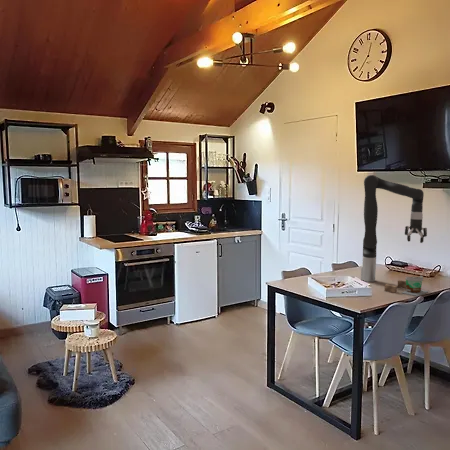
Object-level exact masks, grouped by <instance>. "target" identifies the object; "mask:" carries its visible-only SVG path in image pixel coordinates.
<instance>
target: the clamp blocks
mask: <svg viewBox="0 0 450 450" xmlns="http://www.w3.org/2000/svg"><path fill="white" fill-rule="evenodd" d="M398 287H399V288H402V289H406V280H399V279H398V280H397V285H394V284H389V283H387V284H384V292H387V293H393V294H396V293H397V292H398Z"/></svg>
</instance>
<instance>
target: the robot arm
mask: <svg viewBox="0 0 450 450" xmlns="http://www.w3.org/2000/svg"><path fill="white" fill-rule="evenodd" d="M363 186H364V203H363V221H364V222H363V223H364V235H363V236H364V237H363V240H362V242H363V243H362V265H361V266H360V267H361V268H360V281H363V280H364V281H363V282H366V283H367V282H368V283H369V282H370V283H372V282H373V283H374V282H376V272H377V271H376V269H377V244H378V239H377V223H378V222H377V221H378V207H379V206H378V200H377V195H376V194H377V189H380V190H386V191H387V192H390V193H393V194H396V195H400V196H403V197H407V198H411V200H412V202H411V203H412V204H411V209H410V210H411V211H410V220H409V224H410V225H406V226H405V227H404V235H405V236H407V237H406V240H407V242H411V235H412V234H418V235H419V236H420V239H419V241H420V242H419V243H420V244H423V243H424V239H425V238H427V236H428V228H427V227H423V220H424V219H423V218H424V217H423V214H424V213H423V203H424V191H423V190H422V189H420V188H414V187H410V186H408V185H404V184H401V183H397V182H393V181H388V180H385V179H382V178H381V177H378V176H376V175H374V174H370V175H366V177H365V178H364V180H363ZM409 230H410V231H409ZM422 231H423V232H422Z"/></svg>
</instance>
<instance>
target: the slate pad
mask: <svg viewBox="0 0 450 450" xmlns="http://www.w3.org/2000/svg"><path fill="white" fill-rule="evenodd" d="M427 293H429V290H423V289H421V292H420V293H411V292H407V291H406V290H404V291H402V292H401V295H402V294H404V295H407V296H411V297H419V296H423V295H424V294H427Z"/></svg>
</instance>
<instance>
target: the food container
mask: <svg viewBox="0 0 450 450" xmlns="http://www.w3.org/2000/svg"><path fill="white" fill-rule="evenodd" d="M404 281H406V288H405V289H406V290H405V291H407V292H411V293H420V292H421V290H422V284H423V281H424V276H423V275H419V276H405V279H404Z"/></svg>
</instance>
